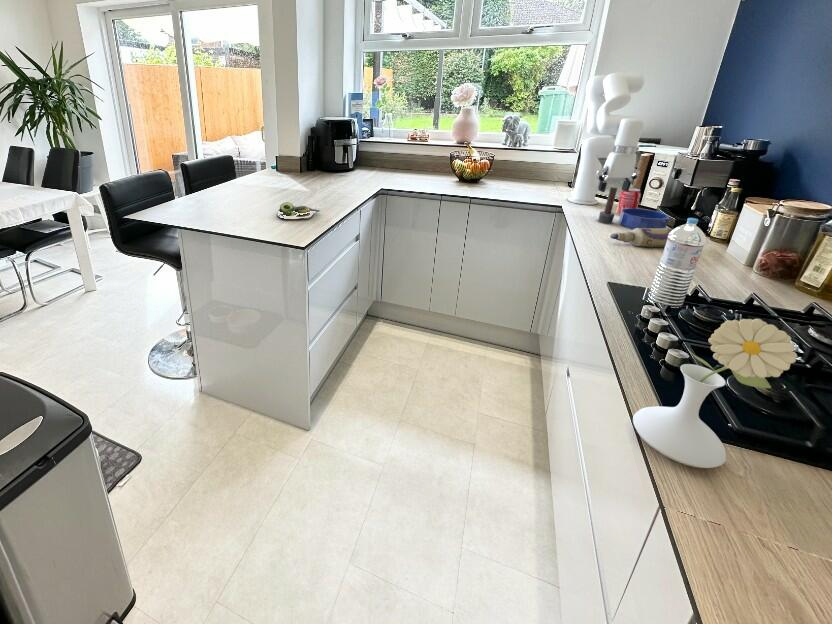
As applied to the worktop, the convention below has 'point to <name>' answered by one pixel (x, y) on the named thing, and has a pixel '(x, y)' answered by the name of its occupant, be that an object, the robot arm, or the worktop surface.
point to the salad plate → (289, 208)
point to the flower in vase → (750, 363)
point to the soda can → (628, 200)
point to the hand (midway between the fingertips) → (613, 191)
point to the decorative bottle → (644, 237)
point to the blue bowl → (643, 218)
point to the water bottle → (677, 265)
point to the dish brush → (608, 208)
